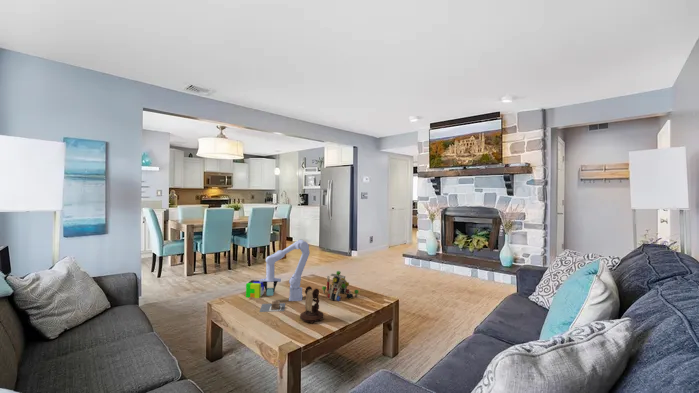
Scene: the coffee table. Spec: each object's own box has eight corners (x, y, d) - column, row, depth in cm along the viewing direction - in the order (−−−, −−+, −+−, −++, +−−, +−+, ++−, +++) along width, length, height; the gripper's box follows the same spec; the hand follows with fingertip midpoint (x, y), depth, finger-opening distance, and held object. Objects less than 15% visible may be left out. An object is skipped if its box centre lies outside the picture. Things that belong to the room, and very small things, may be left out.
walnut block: (279, 306, 209) (279, 301, 208) (279, 309, 204) (279, 303, 203) (272, 307, 208) (272, 301, 208) (271, 310, 203) (271, 304, 203)
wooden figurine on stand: (295, 319, 190) (295, 287, 190) (312, 312, 202) (312, 282, 201) (311, 326, 181) (311, 293, 180) (328, 318, 192) (328, 287, 192)
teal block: (273, 293, 219) (273, 287, 219) (273, 295, 215) (273, 289, 215) (267, 293, 219) (267, 287, 219) (266, 295, 214) (266, 289, 214)
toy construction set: (314, 294, 237) (314, 268, 236) (336, 288, 252) (336, 263, 252) (336, 304, 217) (337, 275, 217) (359, 297, 232) (359, 270, 232)
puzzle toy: (263, 293, 236) (264, 280, 236) (258, 298, 226) (259, 284, 226) (251, 292, 237) (251, 280, 237) (246, 297, 227) (246, 284, 227)
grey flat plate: (285, 303, 215) (285, 302, 215) (284, 311, 202) (284, 310, 202) (262, 304, 213) (262, 303, 213) (259, 312, 199) (259, 311, 199)
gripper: (281, 271, 221) (281, 289, 222) (260, 271, 219) (260, 290, 220) (280, 273, 214) (280, 293, 215) (259, 274, 212) (259, 293, 213)
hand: (270, 292), depth 217 cm, fingers closed on teal block, 4 cm apart
